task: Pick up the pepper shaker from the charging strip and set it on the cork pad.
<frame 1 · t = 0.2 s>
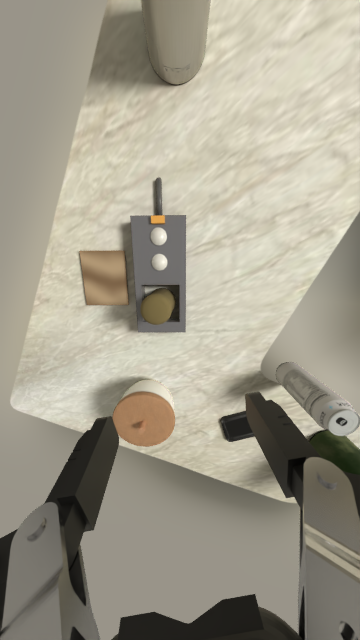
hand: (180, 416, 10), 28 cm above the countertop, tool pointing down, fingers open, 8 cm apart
green bottle: (325, 443, 46), on the countertop
charging strip: (161, 278, 36), on the countertop
cork pad: (105, 278, 36), on the countertop
phone: (250, 420, 45), on the countertop
lidded bowl: (151, 391, 43), on the countertop
energy drink can: (285, 371, 41), on the countertop
pepper shaker: (162, 301, 37), resting in charging strip
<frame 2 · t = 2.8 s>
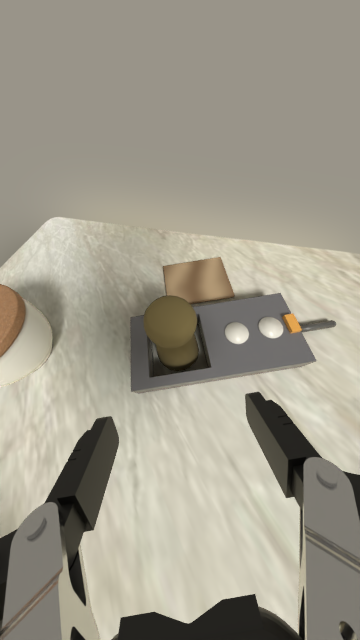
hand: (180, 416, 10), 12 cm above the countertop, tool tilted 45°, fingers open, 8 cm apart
charging strip: (211, 344, 25), on the countertop
cork pad: (196, 281, 30), on the countertop
lidded bowl: (30, 352, 26), on the countertop
pepper shaker: (178, 350, 25), resting in charging strip
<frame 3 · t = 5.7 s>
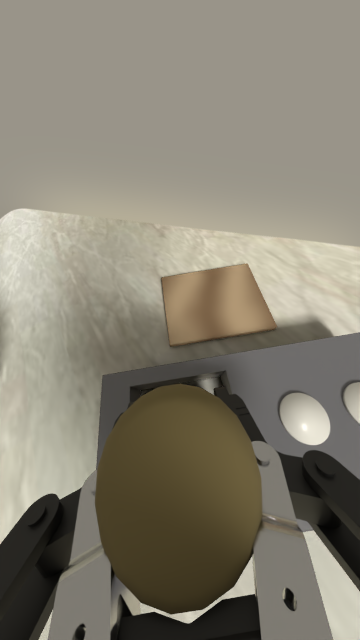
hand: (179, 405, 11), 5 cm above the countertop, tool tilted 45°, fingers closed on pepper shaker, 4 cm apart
charging strip: (246, 421, 14), on the countertop
cork pad: (212, 302, 20), on the countertop
pepper shaker: (187, 431, 14), resting in charging strip, touching gripper
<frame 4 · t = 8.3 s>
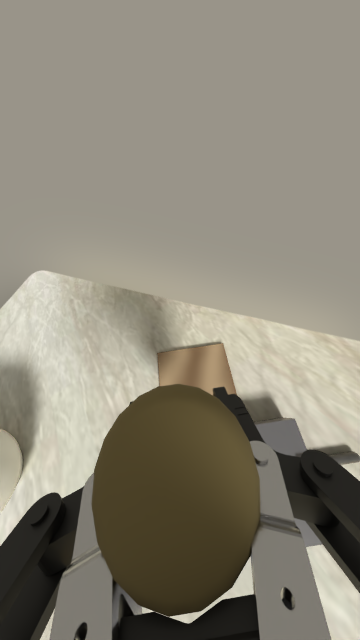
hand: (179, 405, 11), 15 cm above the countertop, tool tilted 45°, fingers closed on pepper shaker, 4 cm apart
charging strip: (211, 477, 21), on the countertop
cork pad: (194, 376, 26), on the countertop
pepper shaker: (183, 432, 14), point 11 cm above the countertop, touching gripper
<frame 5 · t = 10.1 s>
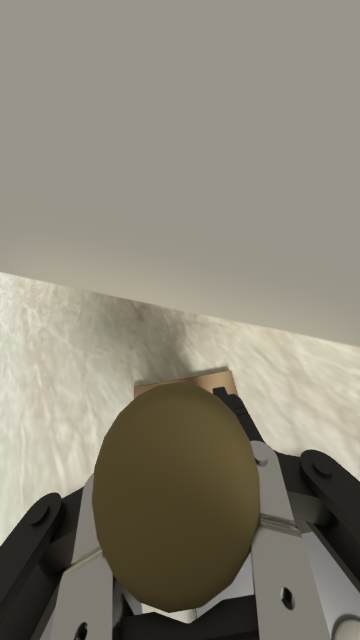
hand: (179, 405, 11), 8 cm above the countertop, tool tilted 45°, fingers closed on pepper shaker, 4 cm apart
charging strip: (220, 625, 12), on the countertop
cork pad: (189, 425, 17), on the countertop
pepper shaker: (183, 431, 14), point 4 cm above the countertop, touching gripper
when the fingers open (6 cm above the countertop, at t = 10.9 s): pepper shaker drops 1 cm, resting on cork pad.
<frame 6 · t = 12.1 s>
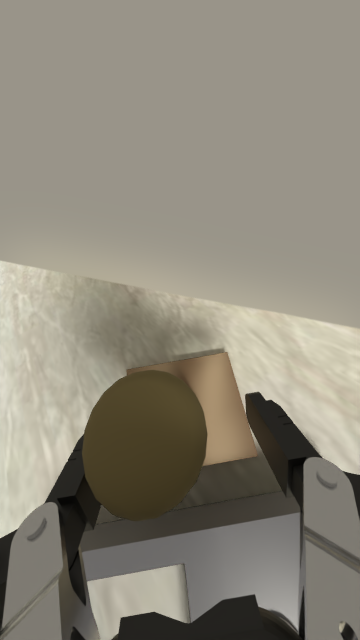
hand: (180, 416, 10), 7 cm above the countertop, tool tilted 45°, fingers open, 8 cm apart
charging strip: (214, 612, 11), on the countertop
cork pad: (184, 407, 17), on the countertop
pepper shaker: (171, 418, 16), resting on cork pad
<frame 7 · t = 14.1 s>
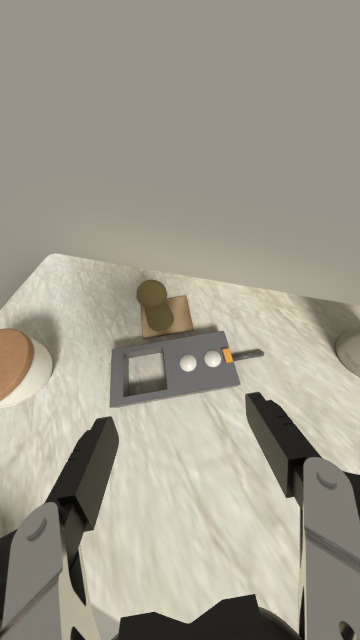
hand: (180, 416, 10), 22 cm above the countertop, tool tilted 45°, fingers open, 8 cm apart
charging strip: (173, 369, 33), on the countertop
cork pad: (166, 316, 39), on the countertop
lidded bowl: (35, 375, 34), on the countertop
pepper shaker: (160, 319, 38), resting on cork pad
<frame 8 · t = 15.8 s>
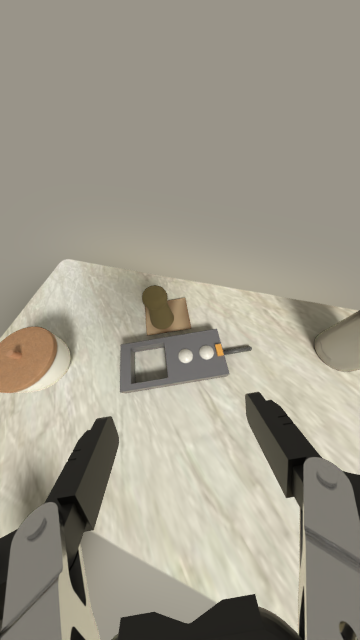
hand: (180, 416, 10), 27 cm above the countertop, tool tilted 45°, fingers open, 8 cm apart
charging strip: (173, 361, 38), on the countertop
cork pad: (167, 316, 44), on the countertop
lidded bowl: (55, 366, 40), on the countertop
pepper shaker: (162, 319, 43), resting on cork pad
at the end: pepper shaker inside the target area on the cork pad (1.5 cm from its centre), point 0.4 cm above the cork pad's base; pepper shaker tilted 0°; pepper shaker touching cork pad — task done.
